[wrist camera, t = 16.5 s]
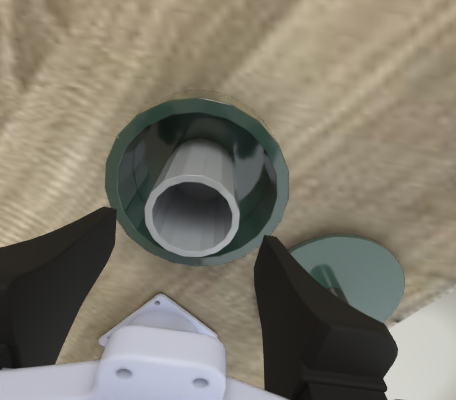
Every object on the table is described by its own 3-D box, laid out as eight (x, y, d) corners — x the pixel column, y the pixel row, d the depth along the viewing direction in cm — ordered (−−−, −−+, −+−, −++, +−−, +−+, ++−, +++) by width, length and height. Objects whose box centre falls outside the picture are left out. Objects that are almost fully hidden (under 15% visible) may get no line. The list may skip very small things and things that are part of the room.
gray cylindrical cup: (200, 213, 24) (191, 271, 17) (153, 168, 22) (124, 215, 16) (248, 174, 22) (258, 222, 16) (202, 123, 21) (193, 154, 14)
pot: (200, 258, 26) (196, 291, 23) (92, 165, 22) (66, 187, 19) (309, 176, 23) (324, 199, 19) (204, 50, 19) (199, 49, 15)
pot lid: (310, 353, 32) (321, 395, 28) (229, 285, 28) (230, 322, 24) (423, 292, 28) (454, 329, 24) (350, 201, 24) (375, 229, 20)
